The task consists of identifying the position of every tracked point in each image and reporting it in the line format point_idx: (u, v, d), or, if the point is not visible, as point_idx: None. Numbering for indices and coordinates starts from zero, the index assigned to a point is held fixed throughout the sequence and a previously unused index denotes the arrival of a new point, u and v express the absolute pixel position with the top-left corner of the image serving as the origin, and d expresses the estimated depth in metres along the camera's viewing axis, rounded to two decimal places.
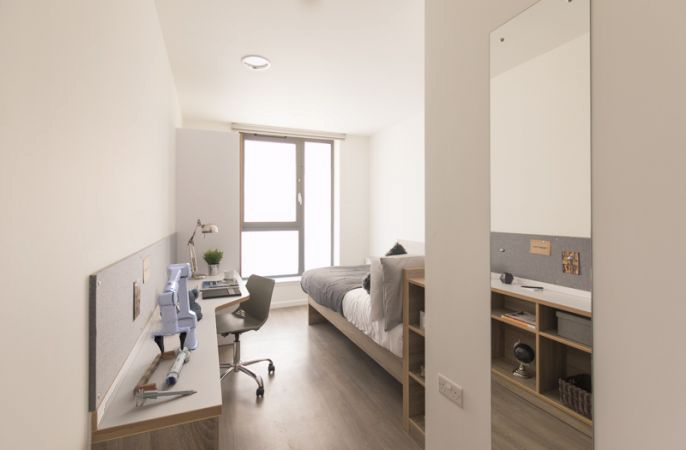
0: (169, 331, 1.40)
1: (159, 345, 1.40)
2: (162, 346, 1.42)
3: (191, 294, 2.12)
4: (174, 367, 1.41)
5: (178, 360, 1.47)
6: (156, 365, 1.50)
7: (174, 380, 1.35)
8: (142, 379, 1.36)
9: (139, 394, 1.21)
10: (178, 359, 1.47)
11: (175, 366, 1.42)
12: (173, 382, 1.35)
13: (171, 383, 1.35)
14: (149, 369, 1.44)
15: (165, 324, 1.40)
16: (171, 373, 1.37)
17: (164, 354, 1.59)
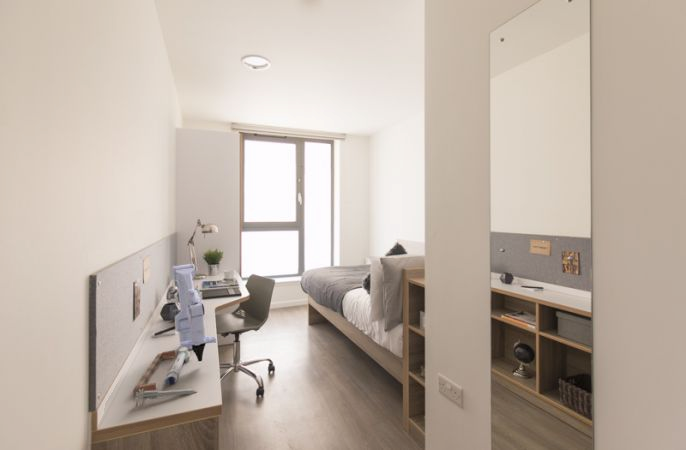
0: (197, 341, 1.46)
1: (196, 353, 1.47)
2: (199, 354, 1.48)
3: None
4: (174, 367, 1.41)
5: (178, 360, 1.46)
6: (156, 365, 1.50)
7: (174, 380, 1.35)
8: (142, 379, 1.36)
9: (139, 394, 1.22)
10: (178, 359, 1.47)
11: (175, 366, 1.42)
12: (173, 383, 1.35)
13: (171, 383, 1.35)
14: (149, 369, 1.44)
15: (194, 334, 1.45)
16: (171, 373, 1.37)
17: (164, 354, 1.59)
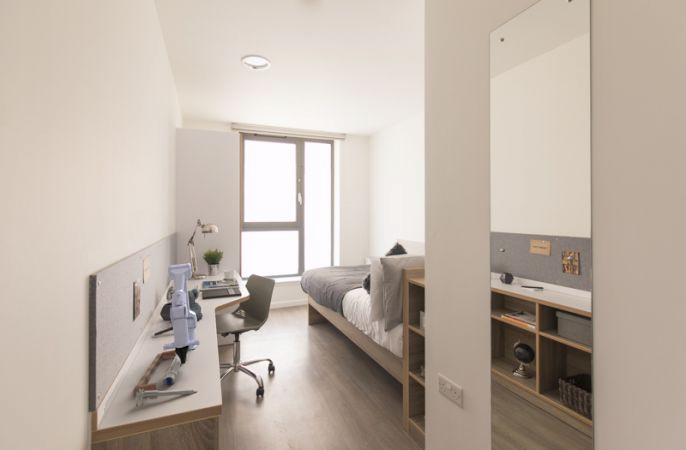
0: (180, 344, 1.44)
1: (180, 356, 1.45)
2: (182, 357, 1.47)
3: (191, 294, 2.12)
4: (171, 368, 1.41)
5: (175, 361, 1.46)
6: (156, 365, 1.50)
7: (172, 381, 1.35)
8: (142, 379, 1.36)
9: (139, 394, 1.22)
10: (175, 360, 1.47)
11: (172, 367, 1.41)
12: (171, 383, 1.35)
13: (169, 384, 1.35)
14: (149, 369, 1.44)
15: (177, 337, 1.44)
16: (169, 374, 1.37)
17: (164, 354, 1.59)
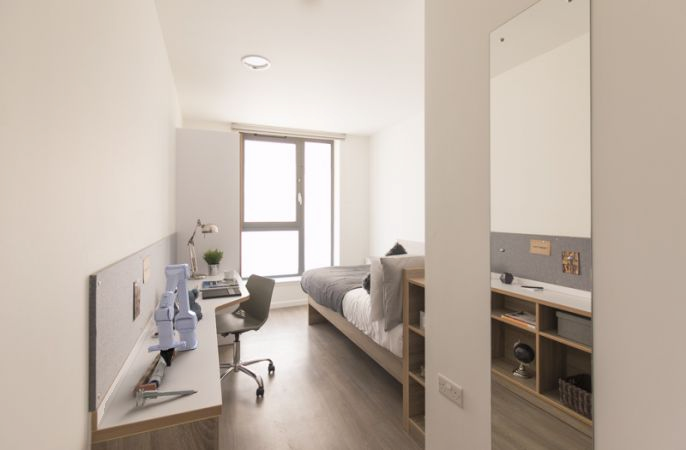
0: (165, 346, 1.43)
1: (165, 358, 1.44)
2: None
3: (191, 294, 2.12)
4: (157, 370, 1.39)
5: (160, 363, 1.45)
6: (156, 365, 1.50)
7: (157, 383, 1.33)
8: (142, 379, 1.36)
9: (139, 394, 1.22)
10: (160, 362, 1.45)
11: (158, 369, 1.40)
12: (156, 386, 1.34)
13: None
14: (149, 369, 1.44)
15: (161, 339, 1.42)
16: (154, 376, 1.35)
17: None
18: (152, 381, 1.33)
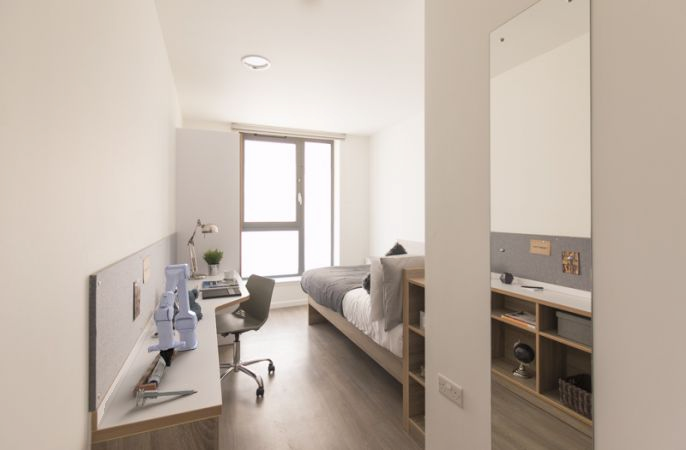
0: (165, 346, 1.43)
1: (164, 358, 1.44)
2: (167, 359, 1.45)
3: (191, 294, 2.12)
4: (156, 370, 1.39)
5: (160, 363, 1.44)
6: None
7: (156, 383, 1.33)
8: (142, 379, 1.36)
9: (139, 394, 1.22)
10: (160, 362, 1.45)
11: (157, 369, 1.40)
12: (156, 386, 1.33)
13: None
14: (149, 369, 1.44)
15: (161, 339, 1.42)
16: (153, 377, 1.35)
17: None
18: (151, 381, 1.33)
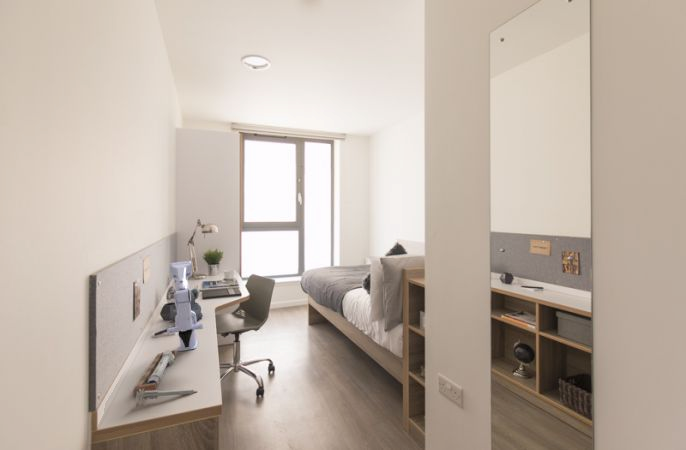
0: (184, 327, 1.46)
1: (183, 339, 1.47)
2: None
3: (191, 294, 2.12)
4: (156, 370, 1.39)
5: (161, 363, 1.44)
6: (156, 365, 1.50)
7: None
8: (142, 379, 1.36)
9: (140, 394, 1.22)
10: (161, 362, 1.45)
11: (157, 369, 1.40)
12: None
13: None
14: (149, 369, 1.44)
15: (180, 320, 1.46)
16: (152, 377, 1.35)
17: None
18: (150, 381, 1.32)
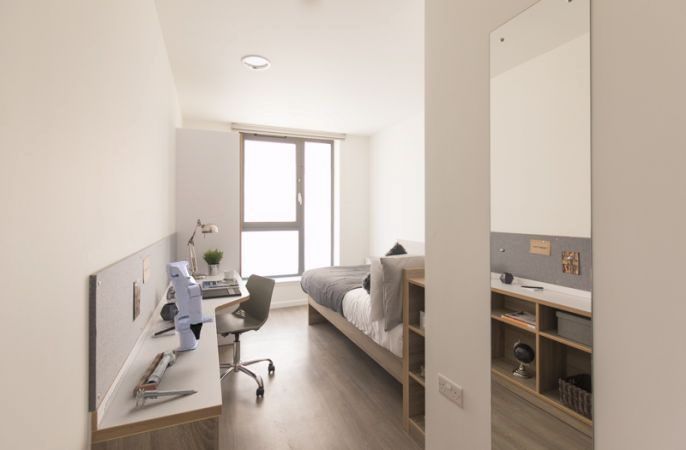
0: (195, 320, 1.53)
1: (194, 332, 1.55)
2: None
3: None
4: (156, 371, 1.39)
5: (161, 363, 1.44)
6: (156, 365, 1.50)
7: None
8: (142, 379, 1.36)
9: (140, 394, 1.22)
10: (161, 362, 1.45)
11: (157, 369, 1.40)
12: None
13: None
14: (149, 369, 1.44)
15: (191, 314, 1.53)
16: (152, 377, 1.35)
17: None
18: (149, 382, 1.32)
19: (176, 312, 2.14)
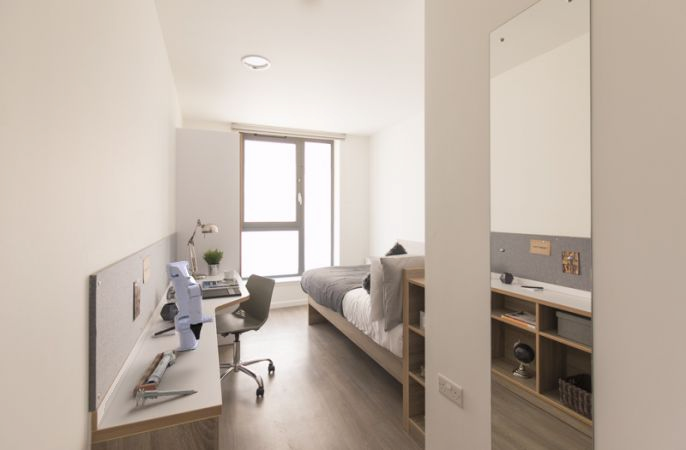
0: (195, 320, 1.53)
1: (194, 332, 1.55)
2: None
3: None
4: (156, 371, 1.39)
5: (161, 363, 1.44)
6: (156, 365, 1.50)
7: None
8: (142, 379, 1.36)
9: (140, 394, 1.22)
10: (161, 362, 1.45)
11: (157, 370, 1.40)
12: None
13: None
14: (149, 369, 1.44)
15: (191, 314, 1.53)
16: (152, 377, 1.35)
17: None
18: (149, 382, 1.32)
19: (176, 312, 2.14)
